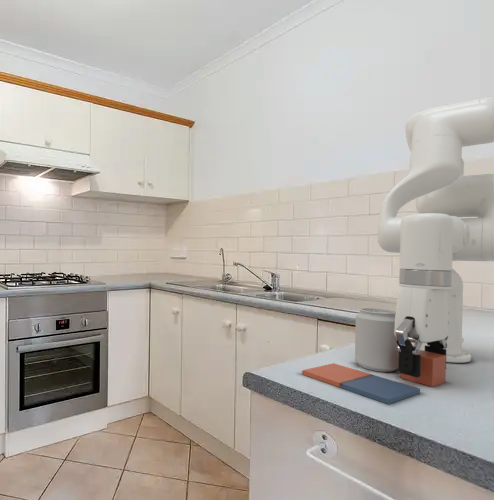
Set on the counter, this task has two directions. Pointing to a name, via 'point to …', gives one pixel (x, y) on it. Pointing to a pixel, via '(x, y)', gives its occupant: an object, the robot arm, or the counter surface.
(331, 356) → the counter surface
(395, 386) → the sorting board
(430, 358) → the terracotta block
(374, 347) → the can
